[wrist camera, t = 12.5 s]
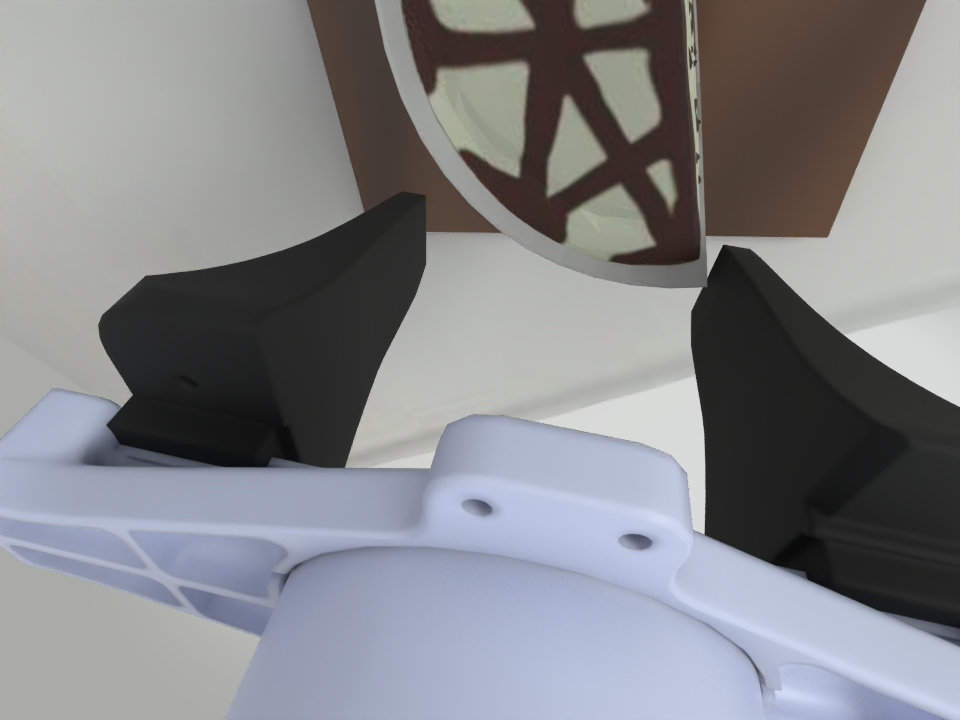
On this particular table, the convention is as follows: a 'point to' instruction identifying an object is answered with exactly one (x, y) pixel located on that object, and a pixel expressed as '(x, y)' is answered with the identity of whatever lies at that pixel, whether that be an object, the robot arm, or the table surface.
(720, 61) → the walnut board
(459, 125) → the food container
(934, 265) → the table surface
